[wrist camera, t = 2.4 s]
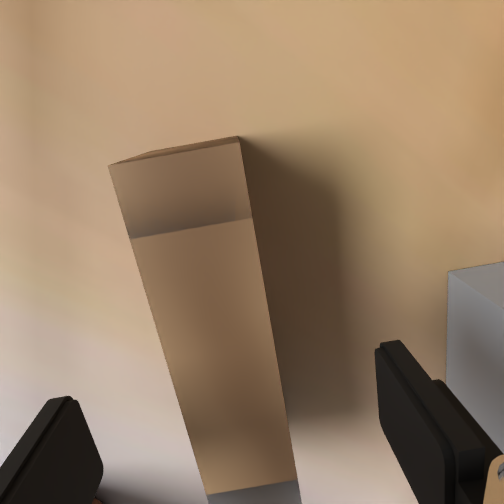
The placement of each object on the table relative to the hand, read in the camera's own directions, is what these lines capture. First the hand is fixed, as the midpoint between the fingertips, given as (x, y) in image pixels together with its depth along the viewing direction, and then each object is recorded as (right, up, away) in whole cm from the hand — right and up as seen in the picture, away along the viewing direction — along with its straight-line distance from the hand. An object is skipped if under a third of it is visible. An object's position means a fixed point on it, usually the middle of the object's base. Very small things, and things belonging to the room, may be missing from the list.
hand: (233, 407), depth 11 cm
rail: (-1, +2, +5) cm, 6 cm away
